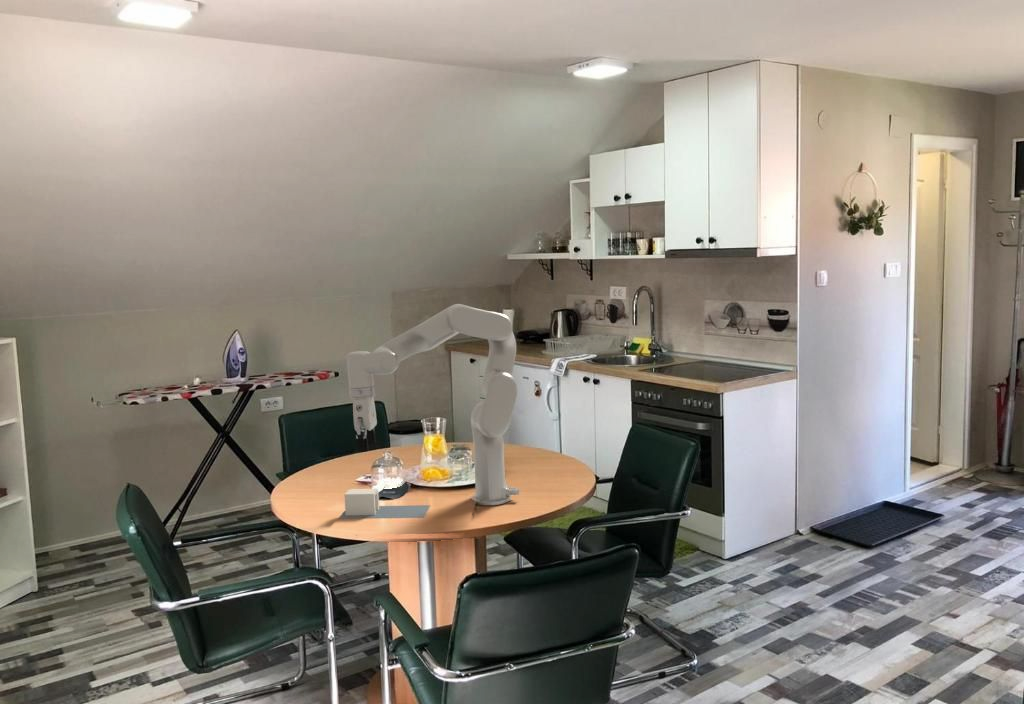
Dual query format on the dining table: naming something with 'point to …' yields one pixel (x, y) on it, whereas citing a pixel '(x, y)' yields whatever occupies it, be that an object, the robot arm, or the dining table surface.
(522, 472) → the dining table surface
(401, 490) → the electronic device
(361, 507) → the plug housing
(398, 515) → the header board
